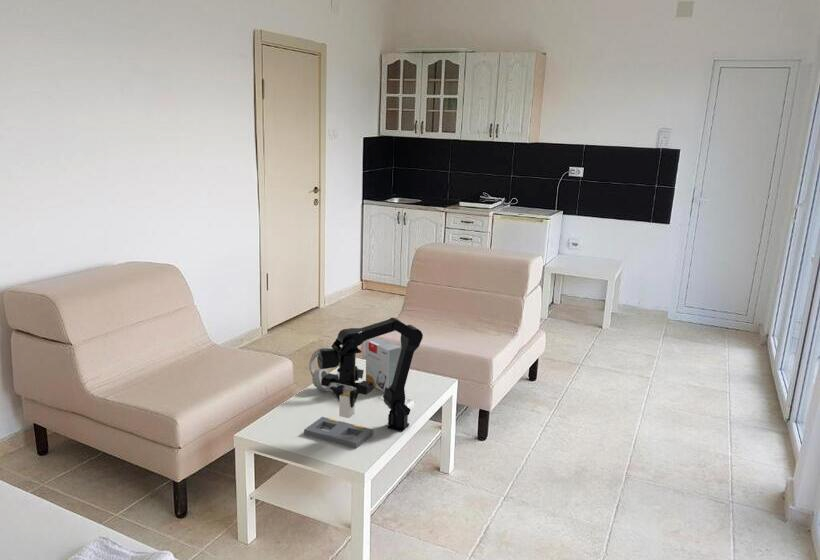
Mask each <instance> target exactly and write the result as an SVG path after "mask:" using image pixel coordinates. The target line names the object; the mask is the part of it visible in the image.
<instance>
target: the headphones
mask: <svg viewBox="0 0 820 560" xmlns="http://www.w3.org/2000/svg"><path fill="white" fill-rule="evenodd" d="M321 349H333V348H332V347H331V346H327V345H326V346H322V347H320V348H318V349H316V350H315V351H314V352H313V353H312V354H311V356H310V359H309V363H308V364H309V365H308V366H309V371H310V374H311V377H312V380H311V382H312V384H313V385H314V387H315V388H316V391H320V392H325V391H329V392H331V393H332V394H334V392H333V391H332V389H330V387H331V383H330V385H329V386H328V387H327V386H323V385H321V379H322V378H323V377H324V376H326V375H327V374H329V373H330V372H329V370H328V369H320V368H318V369H316V370H315V367H314V362H315V359H316V358H317V357H318V354H319V353H320V350H321ZM335 375H338V376H339V372H337V373H335ZM346 388H347V386H344V388H343V391H344V390H345V389H346Z"/></svg>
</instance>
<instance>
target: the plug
mask: <svg viewBox="0 0 820 560" xmlns="http://www.w3.org/2000/svg"><path fill="white" fill-rule="evenodd" d="M350 392H351V391H343V393H342V394H341V395H339V401H338V403H339V409H338V410H339V411H338V412H339V413H338V416H339V417H342V418H346V419H350V418H352V417H353V416H354V415H355V414H356V411H355V408H356V406H355V405H356V404H354V406H353V407H352V408H351V404H350Z"/></svg>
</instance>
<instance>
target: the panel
mask: <svg viewBox="0 0 820 560" xmlns="http://www.w3.org/2000/svg"><path fill="white" fill-rule="evenodd" d="M323 427H326V428H329V429H330V430H324V429H321V428H323ZM303 434H304V435H305V436H308V437H312V438H316V439H320V440H323V441H327V442H331V443H335V444H339V445H342V446H345V447H349V448H354V449H358V448H359V447H360V446H362V444H364V442H366V441H367V440H368V439H369V438H371V437H372V436H373V435H374V430H373V428H369V427H365V426H361V425H357V424H352V423H349V422H345V421H341V420H338V419H337V420H336V419H333V418H329V417H325V416H321V417H320V418H318V419H317V420H315V421H314V422H313V423H311V424H310V425H308V426H307V427H306V428H304V429H303ZM347 434H353V435H356V436H355V437H352V436H347Z"/></svg>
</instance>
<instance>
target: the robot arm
mask: <svg viewBox="0 0 820 560" xmlns="http://www.w3.org/2000/svg"><path fill="white" fill-rule="evenodd" d="M392 332H396V333H397V332H398V333H399V334H400V347H402V348H401V352H400V356H399V360H398V364H397V368H396V371H395V375H394V379H393V383H392V385H391V386H390V387H389V388H387V387H386V388H385V392H383V395H382V398H383V402H384V404H385V405H386V407H388V409H390V411H389V413H388V414H387V415H388V418H387V420H388V421H387V423H388V425H387V426H386V428H387V429H390V430H394V431H399V432H403V431H405V430H406V429H407V428H408V427H409V426H410V423H409V422H408V421H409V420H408V419H409V415H410V413H411V408H409V407H408V406H407V405H406V404H405V403H406V393H405V392H406V391H405V387H406V383H407V381H408V377H409V376H408V375H409V371H410V368H411V365H412V361H413V357H414V353H415V351H416V350H417V349H418V348H419V347H420V345H421V343H422V341H423V337H424V335H423V332H422V331H421V330H420V329H419V328H417V327H416V326H414V325H412V324H406V323H403V322H402V321H401V320H399V318H397V317H390V318H389V319H386V320H382V321H378V322H376V323H373V324H370V325H367V326H364V327H363V326H362V327H351V328H350V327H349V328H344V329H341V330H340V331H339V332H338V334H337V338H335V340H334V341H333V343H332V345H331V346H330V347H332V348H333V349H321V350H320V353H319V354H318V356H317V357H316V358H317V359H316V361H317V365H318V369H326V370H328V369H333V368H337V367H338V368H337V370H336V371H337V373H338V372H339V376H338V375H336V373H332V372H329V374H327V375H326V376H324V377H323V378H322V379H321V385H323V386H327V387H328V386H329V385H330V383H331V387H330V389H332V391H333V392H334V393H333V394H334V395H335V397H336V398H337V401H338V402H339V395H341V394H342V393H344V390H343V388H344V386H346V387H349V388H352V390H351V391H349V392H350V404H351V408H352V407H353V406H354V404H355V403H356V401H357V399H358V396H359V394H360V395H363V396H364V395H368V394H370V392H372V391H374V389H375V387H374V385H373V383H372V382H368V381H366V380H362V381H361V382H357V381H359V379H363V378H364V377H363V376H364V373H365V372H364V371H365V370H364V369H360V368H358V366H357V365H356V358H357V357H356V354H361V353H362V350H361V349H359V348H358V347H359V346H361V345H362V344H363V343H364V342H366V341H367V340H371V339H375V338H378V337H380V336H383V335H386V334H389V333H392ZM355 405H356V404H355Z"/></svg>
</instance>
